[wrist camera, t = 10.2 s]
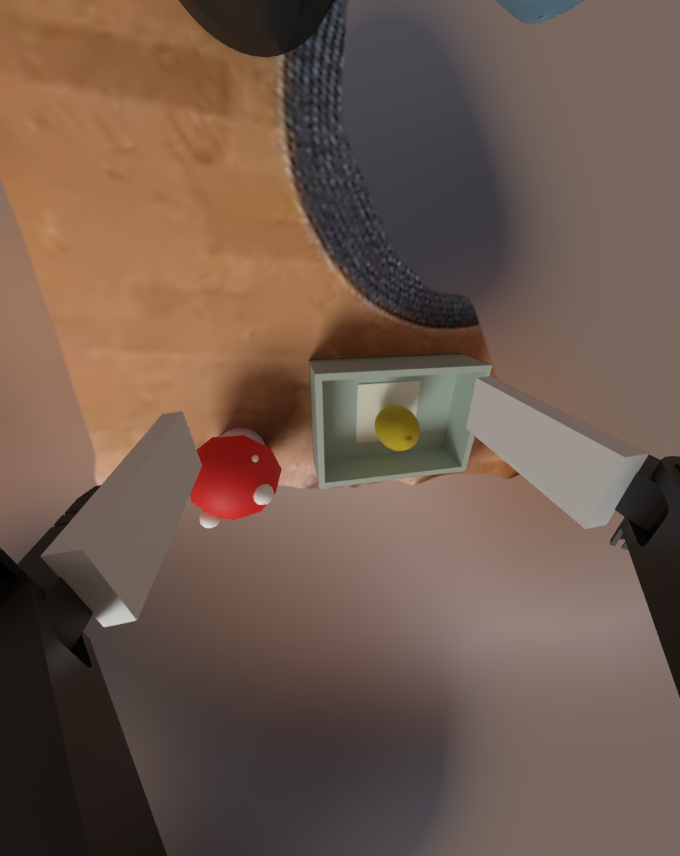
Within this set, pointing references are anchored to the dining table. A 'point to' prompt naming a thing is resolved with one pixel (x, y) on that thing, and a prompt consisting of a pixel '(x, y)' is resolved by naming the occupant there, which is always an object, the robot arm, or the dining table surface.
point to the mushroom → (234, 476)
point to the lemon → (397, 428)
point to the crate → (381, 387)
